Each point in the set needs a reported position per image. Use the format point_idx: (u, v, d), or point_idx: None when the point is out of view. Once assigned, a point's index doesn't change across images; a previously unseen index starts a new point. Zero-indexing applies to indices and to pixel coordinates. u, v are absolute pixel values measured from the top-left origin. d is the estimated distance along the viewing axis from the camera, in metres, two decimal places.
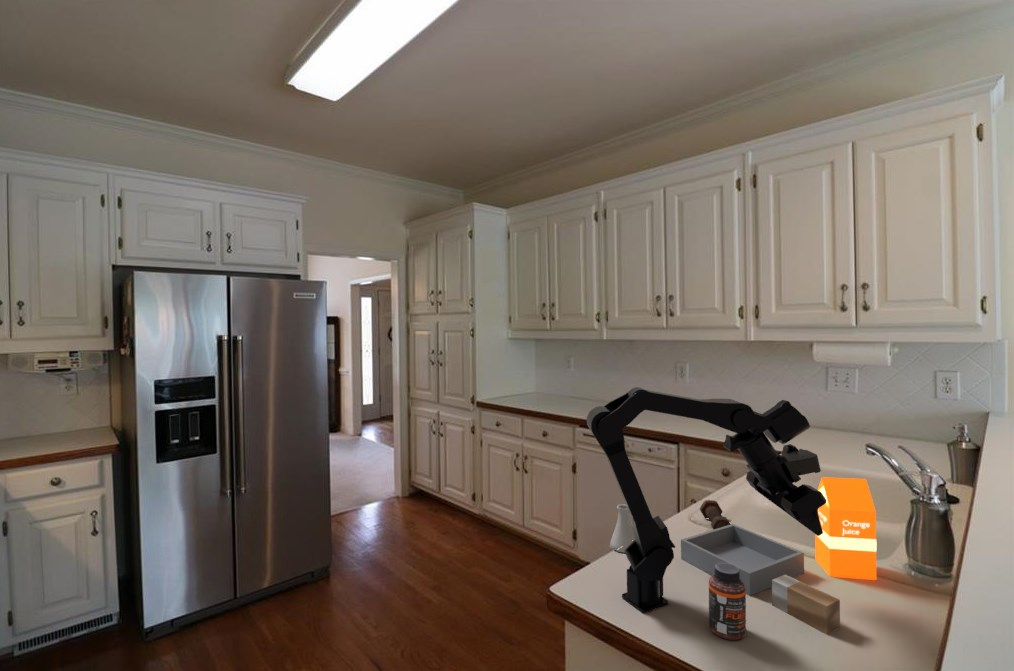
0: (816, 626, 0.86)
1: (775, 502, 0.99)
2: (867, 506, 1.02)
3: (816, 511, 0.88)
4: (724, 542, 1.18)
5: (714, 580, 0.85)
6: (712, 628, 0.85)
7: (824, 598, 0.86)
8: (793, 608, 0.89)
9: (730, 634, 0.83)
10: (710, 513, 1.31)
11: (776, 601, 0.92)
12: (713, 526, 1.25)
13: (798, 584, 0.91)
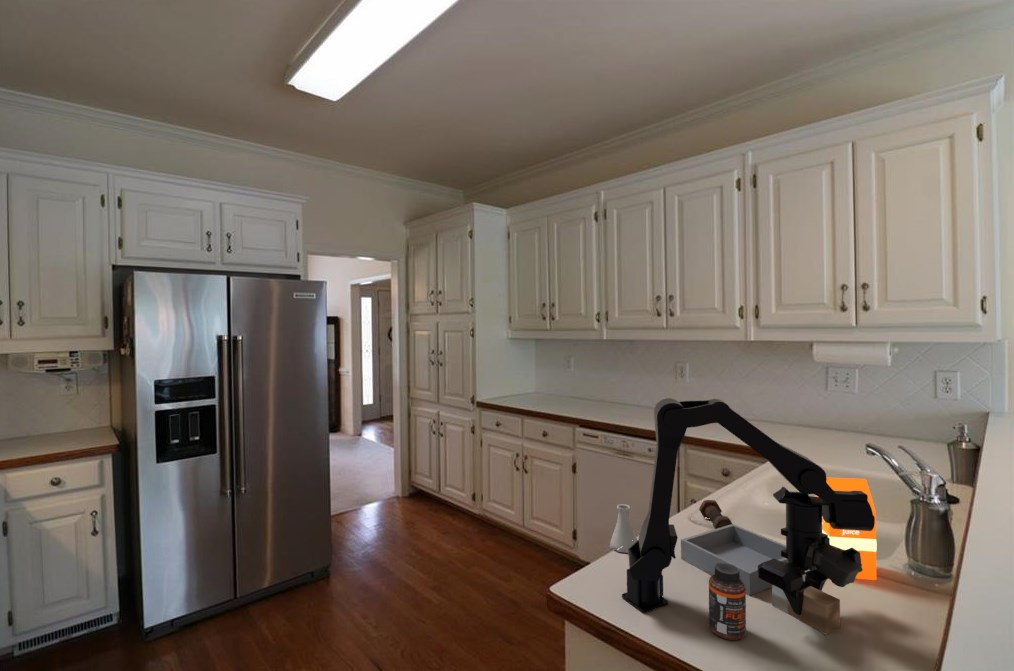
0: (816, 626, 0.86)
1: None
2: None
3: (797, 591, 0.87)
4: (724, 542, 1.18)
5: (714, 580, 0.85)
6: (712, 628, 0.85)
7: (824, 598, 0.86)
8: None
9: (730, 634, 0.83)
10: (711, 513, 1.31)
11: (776, 601, 0.92)
12: (715, 526, 1.25)
13: None
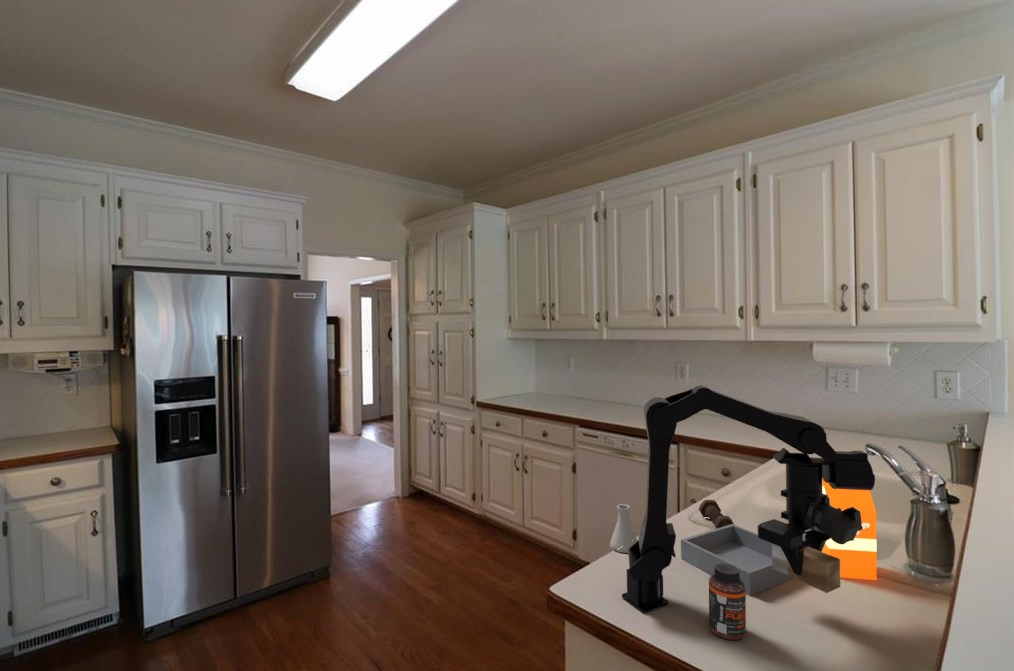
0: (816, 585, 0.86)
1: None
2: (867, 506, 1.02)
3: (797, 551, 0.86)
4: (724, 542, 1.18)
5: (714, 580, 0.85)
6: (712, 628, 0.85)
7: (824, 557, 0.86)
8: None
9: (730, 634, 0.83)
10: (711, 513, 1.31)
11: (776, 563, 0.92)
12: (717, 526, 1.25)
13: None
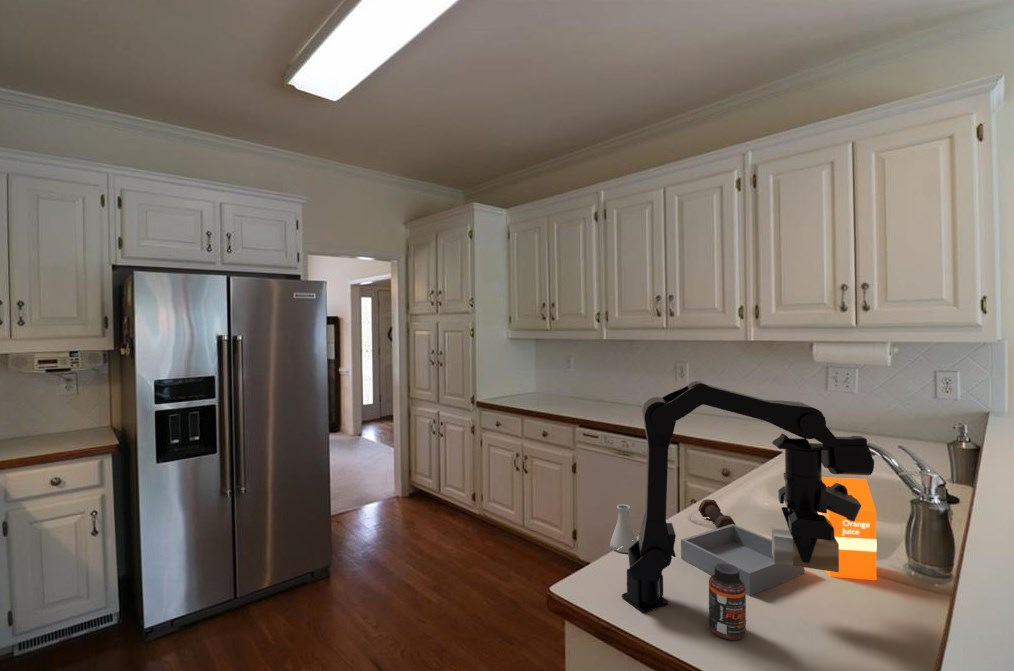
0: (827, 568, 0.86)
1: None
2: (867, 506, 1.02)
3: (815, 539, 0.85)
4: (724, 542, 1.18)
5: (714, 580, 0.85)
6: (712, 628, 0.85)
7: None
8: (800, 558, 0.88)
9: (730, 634, 0.83)
10: (711, 512, 1.31)
11: (779, 556, 0.89)
12: (718, 526, 1.25)
13: None
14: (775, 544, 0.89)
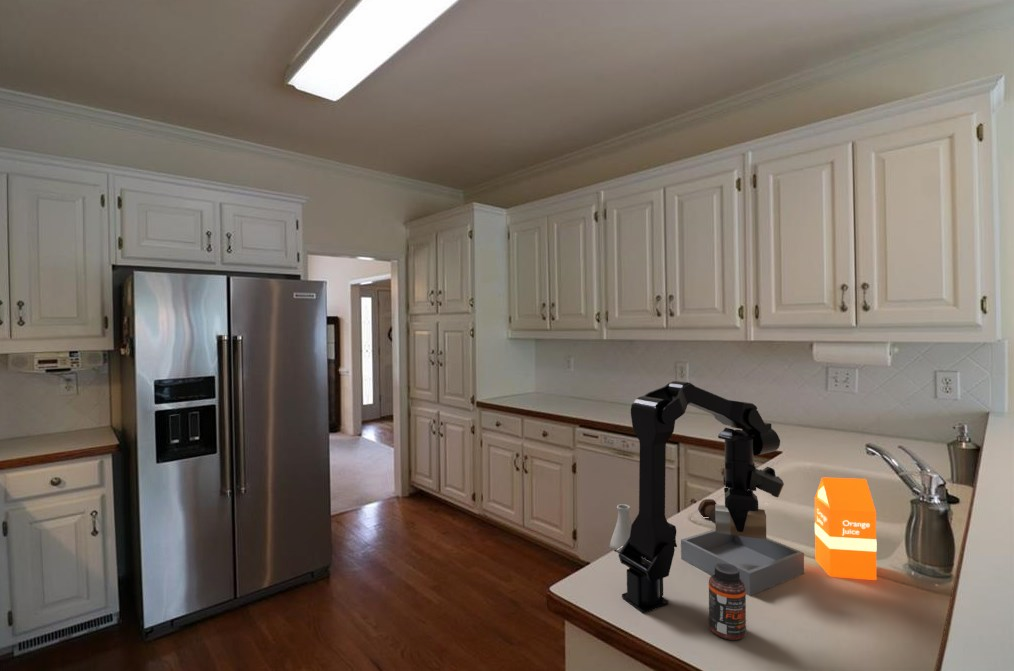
0: (757, 536, 1.05)
1: None
2: (867, 506, 1.02)
3: (746, 512, 1.04)
4: (724, 542, 1.18)
5: (714, 580, 0.85)
6: (712, 628, 0.85)
7: (757, 511, 1.07)
8: None
9: (730, 634, 0.83)
10: (712, 512, 1.31)
11: (719, 527, 1.08)
12: None
13: None
14: (716, 517, 1.08)
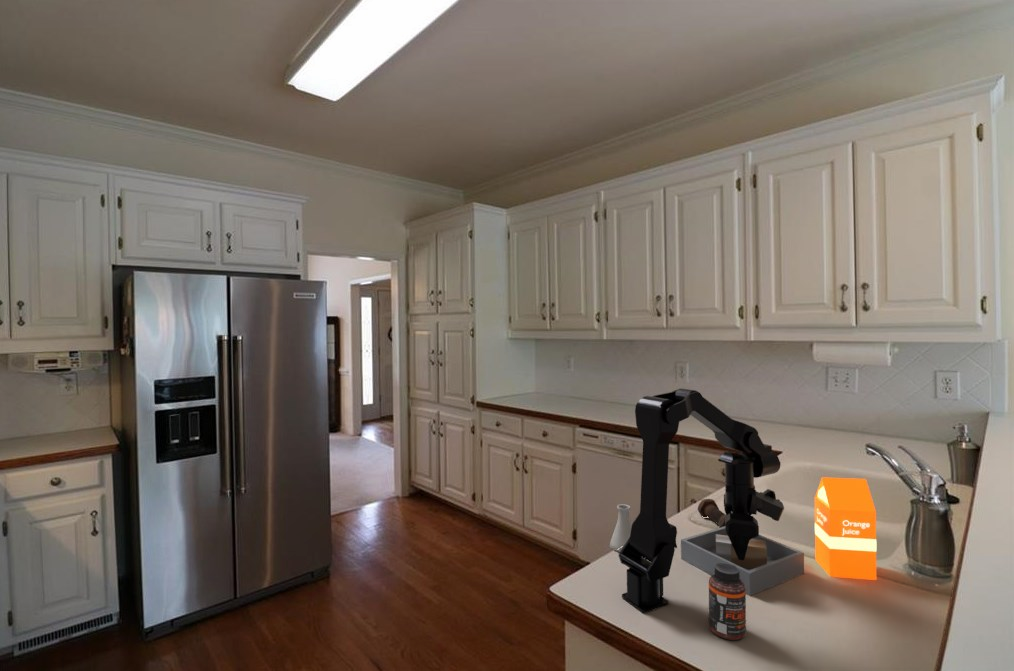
0: None
1: None
2: (867, 506, 1.02)
3: (748, 540, 1.02)
4: None
5: (714, 580, 0.85)
6: (712, 628, 0.85)
7: (757, 543, 1.07)
8: (736, 559, 1.07)
9: (730, 634, 0.83)
10: (712, 512, 1.31)
11: None
12: (722, 525, 1.25)
13: None
14: (717, 548, 1.08)
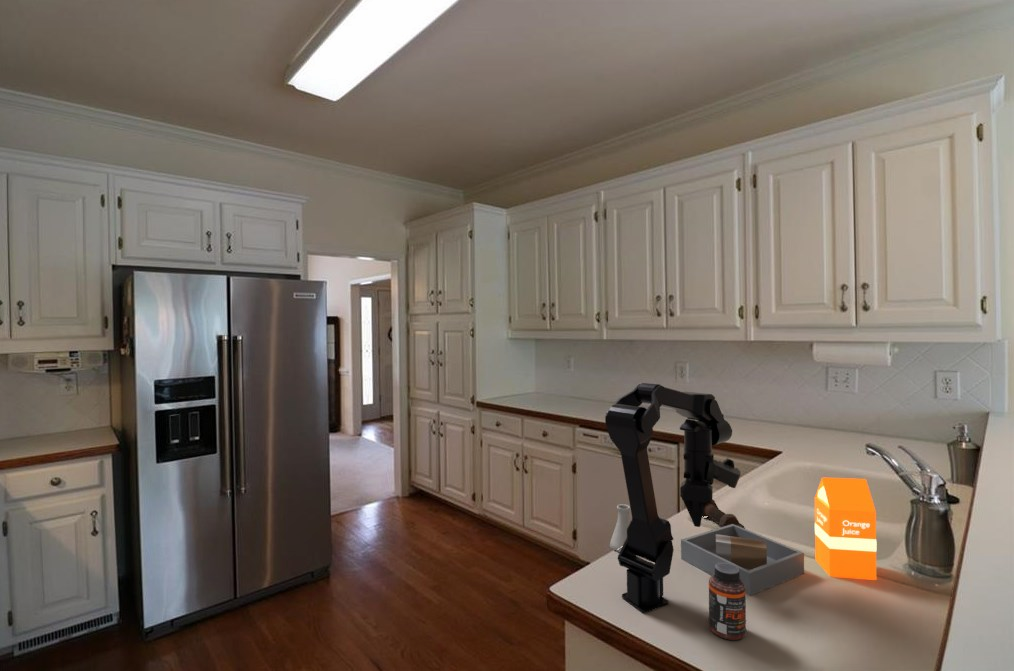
0: None
1: None
2: (867, 506, 1.02)
3: (702, 506, 1.02)
4: None
5: (714, 580, 0.85)
6: (712, 628, 0.85)
7: (757, 543, 1.07)
8: (736, 559, 1.07)
9: (730, 634, 0.83)
10: (712, 512, 1.31)
11: None
12: (723, 525, 1.25)
13: (732, 538, 1.09)
14: (717, 548, 1.08)
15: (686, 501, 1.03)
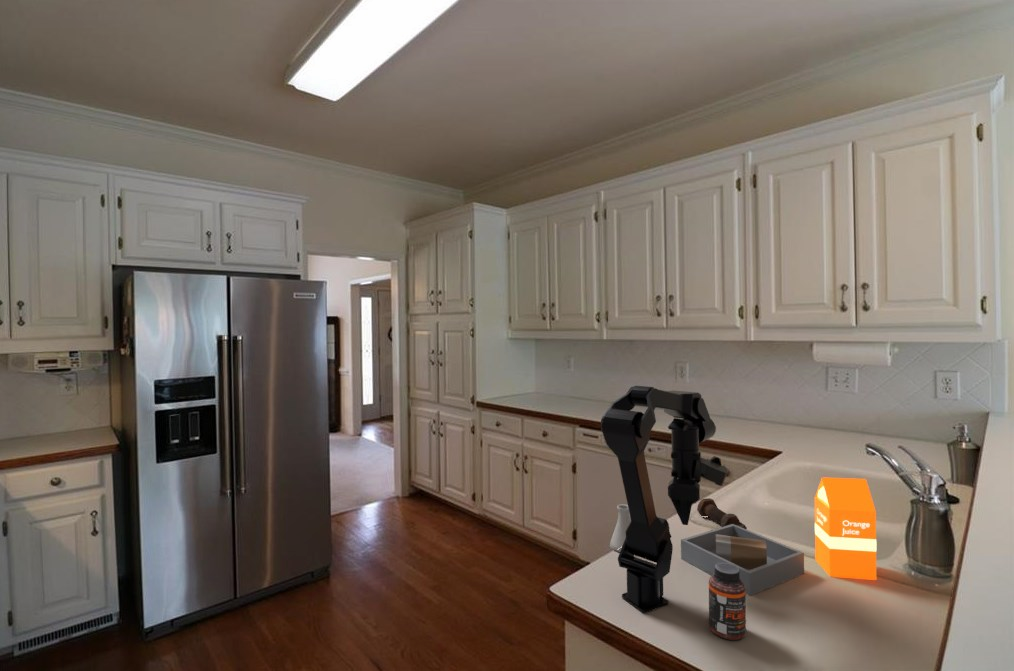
0: None
1: None
2: (867, 506, 1.02)
3: (690, 504, 1.02)
4: None
5: (714, 580, 0.85)
6: (712, 628, 0.85)
7: (757, 543, 1.07)
8: (736, 559, 1.07)
9: (730, 634, 0.83)
10: (713, 511, 1.32)
11: None
12: (725, 524, 1.25)
13: (732, 538, 1.09)
14: (717, 548, 1.08)
15: (674, 500, 1.04)
